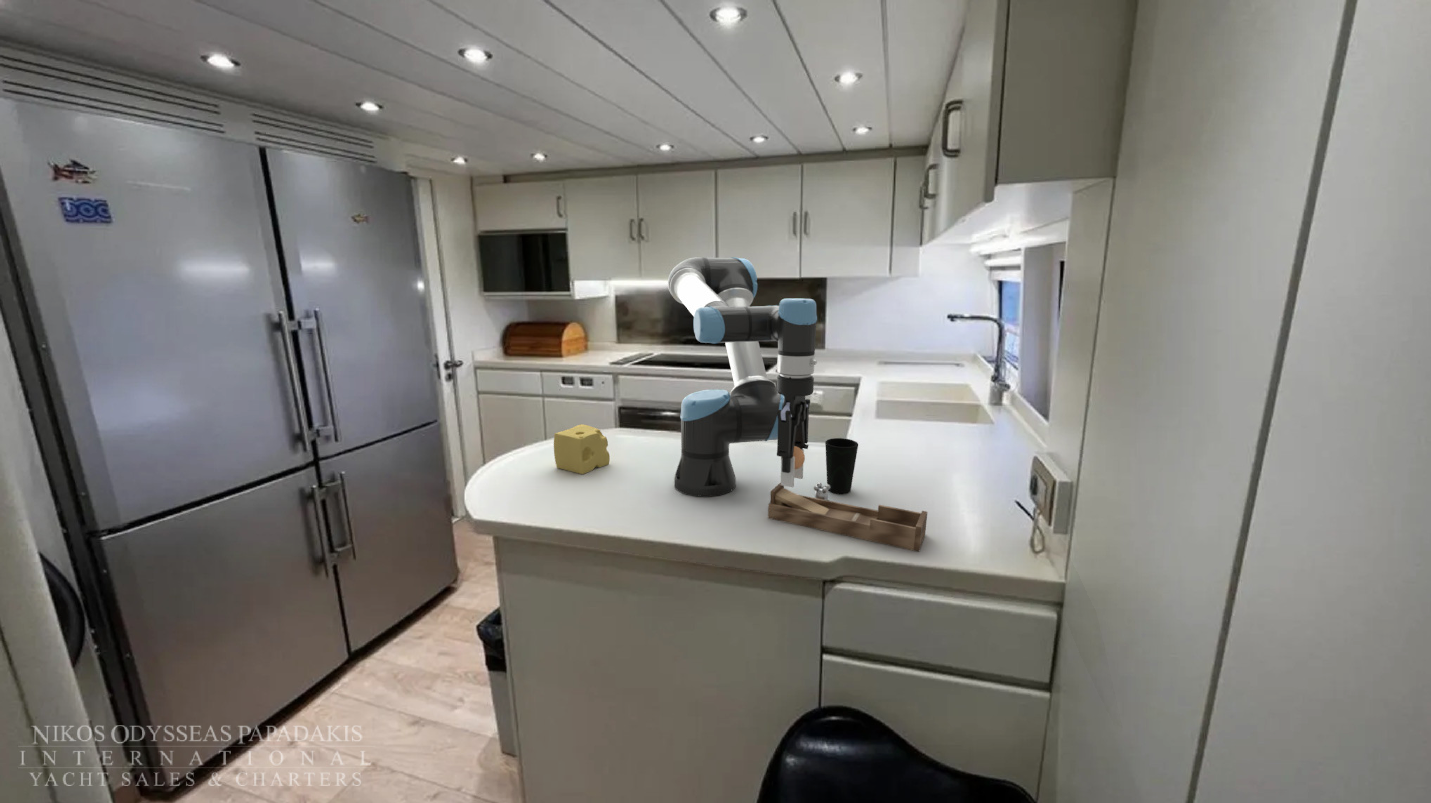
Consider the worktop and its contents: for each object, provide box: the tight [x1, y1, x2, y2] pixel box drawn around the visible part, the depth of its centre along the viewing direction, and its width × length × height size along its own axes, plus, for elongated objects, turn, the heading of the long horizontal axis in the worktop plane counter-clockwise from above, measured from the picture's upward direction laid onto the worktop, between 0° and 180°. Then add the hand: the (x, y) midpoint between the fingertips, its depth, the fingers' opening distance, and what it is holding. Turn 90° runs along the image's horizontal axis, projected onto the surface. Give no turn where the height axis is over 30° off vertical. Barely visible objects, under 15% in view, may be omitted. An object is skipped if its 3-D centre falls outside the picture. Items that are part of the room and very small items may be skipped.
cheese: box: [553, 423, 610, 475], centre depth 151 cm, size 10×11×10 cm
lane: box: [767, 482, 928, 553], centre depth 116 cm, size 31×8×6 cm, turn 62°
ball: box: [793, 446, 806, 470], centre depth 119 cm, size 5×5×5 cm
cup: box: [824, 437, 859, 495], centre depth 135 cm, size 8×8×12 cm
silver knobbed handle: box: [813, 482, 830, 501], centre depth 127 cm, size 5×5×5 cm
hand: (791, 481), depth 121 cm, fingers closed on ball, 5 cm apart
